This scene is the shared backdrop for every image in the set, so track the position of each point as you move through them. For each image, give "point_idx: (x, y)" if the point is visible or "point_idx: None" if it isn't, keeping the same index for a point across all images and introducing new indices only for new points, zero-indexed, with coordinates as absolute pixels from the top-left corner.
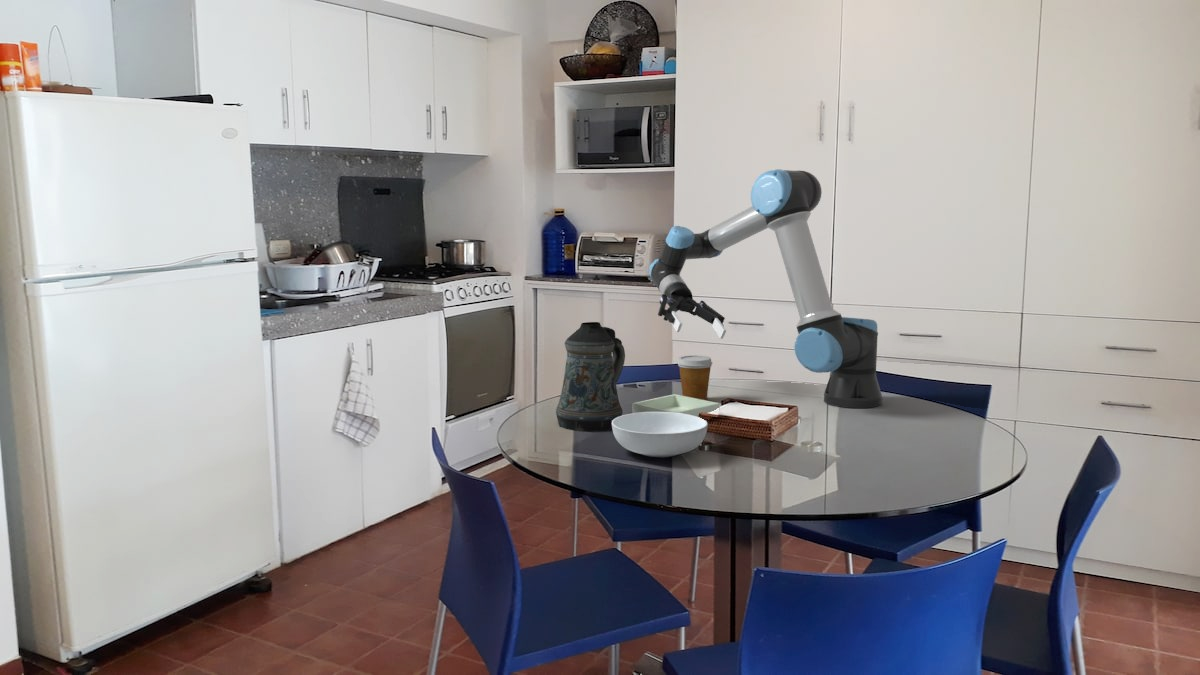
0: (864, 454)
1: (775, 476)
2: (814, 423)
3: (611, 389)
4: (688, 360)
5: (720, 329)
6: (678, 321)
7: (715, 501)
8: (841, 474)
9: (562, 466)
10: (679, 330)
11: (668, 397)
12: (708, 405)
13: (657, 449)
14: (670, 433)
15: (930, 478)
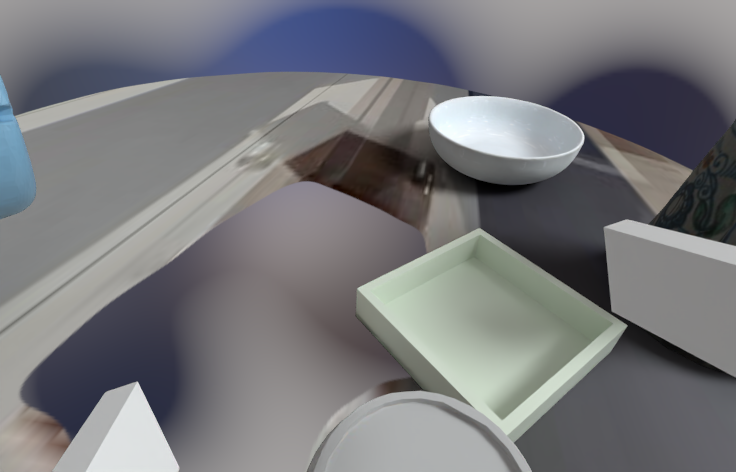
0: (214, 131)
1: (360, 107)
2: (156, 239)
3: (669, 202)
4: (473, 410)
5: (128, 462)
6: (663, 234)
7: (430, 87)
8: (288, 103)
9: (609, 146)
10: (612, 295)
11: (523, 403)
12: (393, 272)
13: (495, 121)
14: (482, 96)
15: (208, 91)
